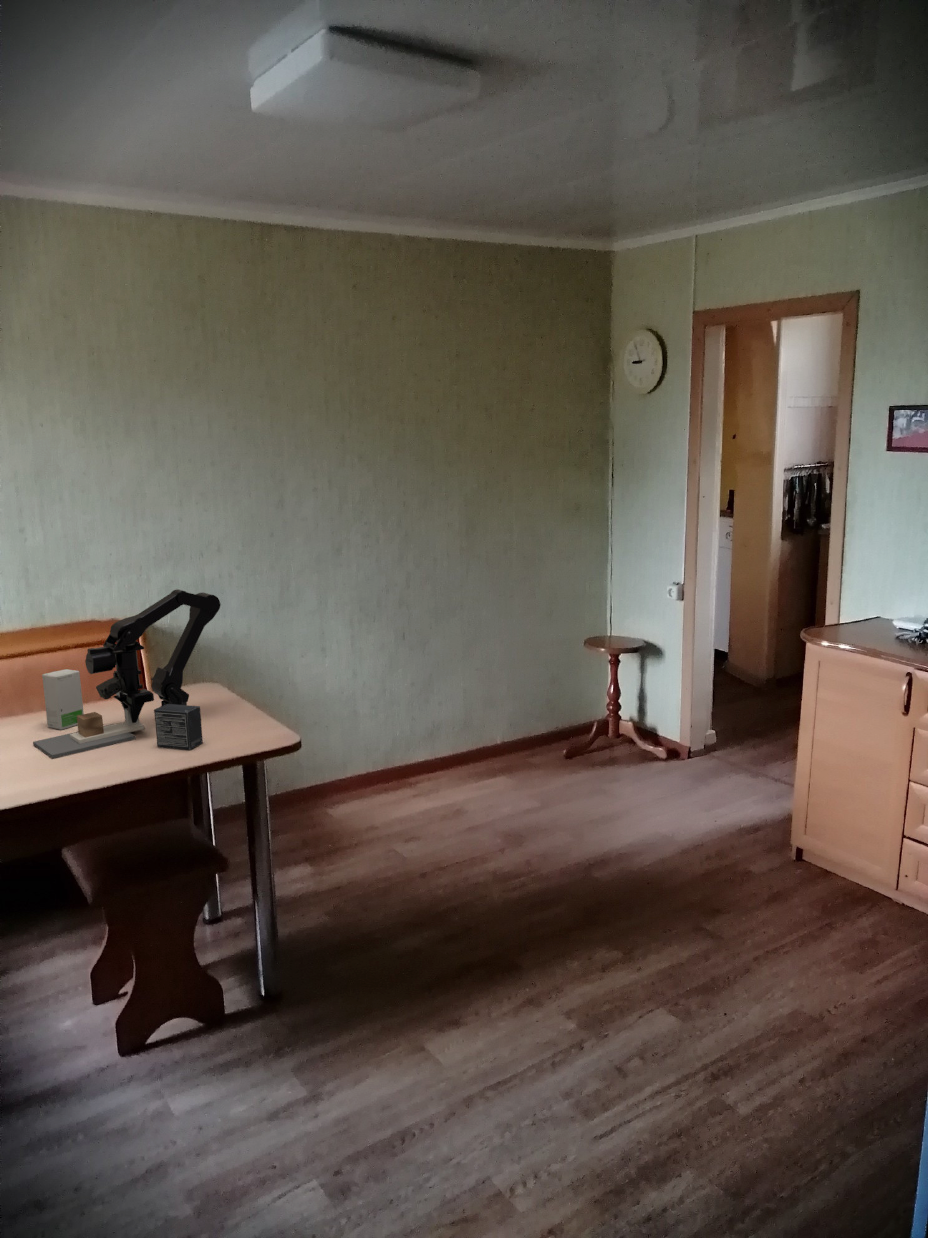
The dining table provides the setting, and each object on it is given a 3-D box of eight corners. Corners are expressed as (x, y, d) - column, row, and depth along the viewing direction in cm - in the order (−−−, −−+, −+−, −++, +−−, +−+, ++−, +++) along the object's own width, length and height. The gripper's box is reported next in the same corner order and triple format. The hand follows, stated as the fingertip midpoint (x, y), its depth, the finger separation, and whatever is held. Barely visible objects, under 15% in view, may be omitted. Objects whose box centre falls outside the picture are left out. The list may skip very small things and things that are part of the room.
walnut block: (96, 729, 265) (95, 711, 264) (103, 733, 261) (102, 715, 260) (78, 733, 262) (76, 715, 261) (85, 737, 258) (83, 719, 257)
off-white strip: (134, 723, 273) (132, 704, 272) (144, 728, 268) (143, 709, 266) (70, 737, 261) (68, 718, 260) (79, 743, 256) (77, 723, 255)
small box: (204, 743, 258) (201, 705, 256) (190, 751, 252) (187, 712, 250) (171, 739, 261) (167, 702, 259) (156, 747, 255) (152, 709, 253)
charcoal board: (113, 727, 273) (113, 723, 273) (135, 739, 262) (135, 735, 262) (33, 745, 259) (32, 741, 259) (52, 758, 248) (52, 755, 248)
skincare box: (60, 730, 271) (54, 677, 268) (46, 727, 274) (39, 674, 271) (86, 722, 278) (80, 670, 275) (71, 719, 281) (65, 667, 278)
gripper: (85, 666, 267) (90, 720, 270) (111, 679, 253) (117, 735, 257) (124, 659, 274) (129, 712, 277) (152, 671, 261) (157, 726, 264)
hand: (132, 721), depth 269 cm, fingers closed on off-white strip, 2 cm apart
